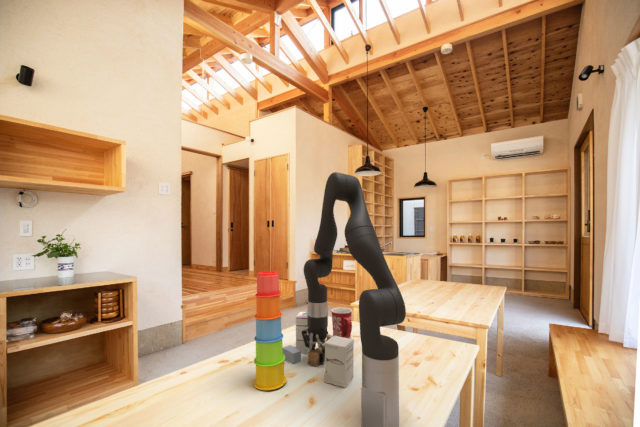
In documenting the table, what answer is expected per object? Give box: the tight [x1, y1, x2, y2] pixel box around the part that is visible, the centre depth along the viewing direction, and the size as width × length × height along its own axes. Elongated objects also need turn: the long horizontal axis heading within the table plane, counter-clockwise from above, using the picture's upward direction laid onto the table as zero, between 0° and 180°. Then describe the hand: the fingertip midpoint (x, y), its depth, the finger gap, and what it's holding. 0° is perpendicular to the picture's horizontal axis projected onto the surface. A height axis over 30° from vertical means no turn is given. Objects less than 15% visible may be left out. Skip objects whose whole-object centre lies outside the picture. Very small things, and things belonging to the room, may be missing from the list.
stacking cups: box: [253, 270, 288, 392], centre depth 93 cm, size 10×10×35 cm
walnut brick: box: [307, 347, 325, 367], centre depth 107 cm, size 7×4×4 cm, turn 145°
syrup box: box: [295, 311, 310, 355], centre depth 117 cm, size 6×6×14 cm
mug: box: [331, 307, 353, 339], centre depth 124 cm, size 13×9×14 cm
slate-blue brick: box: [283, 344, 302, 365], centre depth 108 cm, size 7×4×4 cm, turn 43°
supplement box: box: [324, 335, 355, 389], centre depth 94 cm, size 7×7×13 cm
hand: (317, 361), depth 106 cm, fingers closed on walnut brick, 3 cm apart
